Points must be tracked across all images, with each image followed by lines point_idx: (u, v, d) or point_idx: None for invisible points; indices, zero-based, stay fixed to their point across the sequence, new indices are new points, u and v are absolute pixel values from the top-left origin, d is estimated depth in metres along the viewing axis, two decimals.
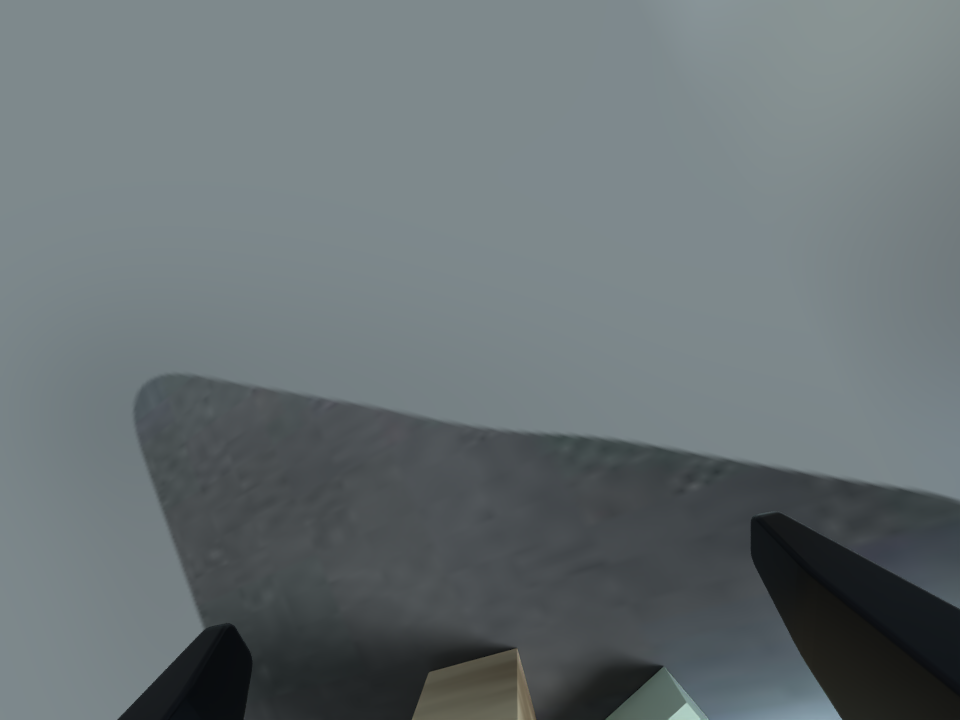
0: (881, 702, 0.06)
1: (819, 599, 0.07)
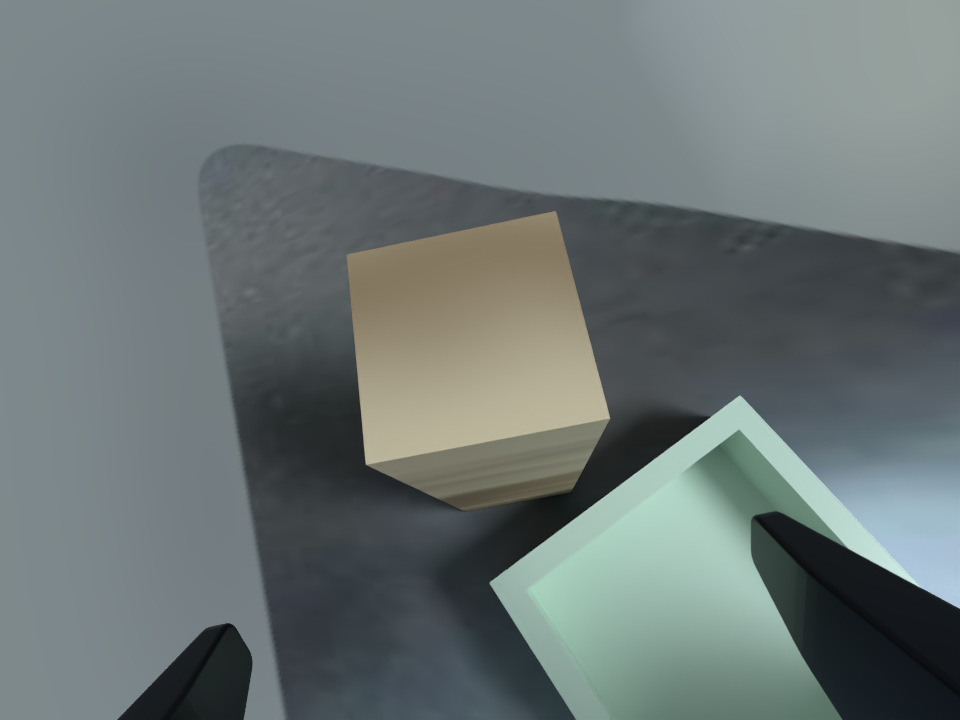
0: (881, 702, 0.06)
1: (819, 599, 0.07)
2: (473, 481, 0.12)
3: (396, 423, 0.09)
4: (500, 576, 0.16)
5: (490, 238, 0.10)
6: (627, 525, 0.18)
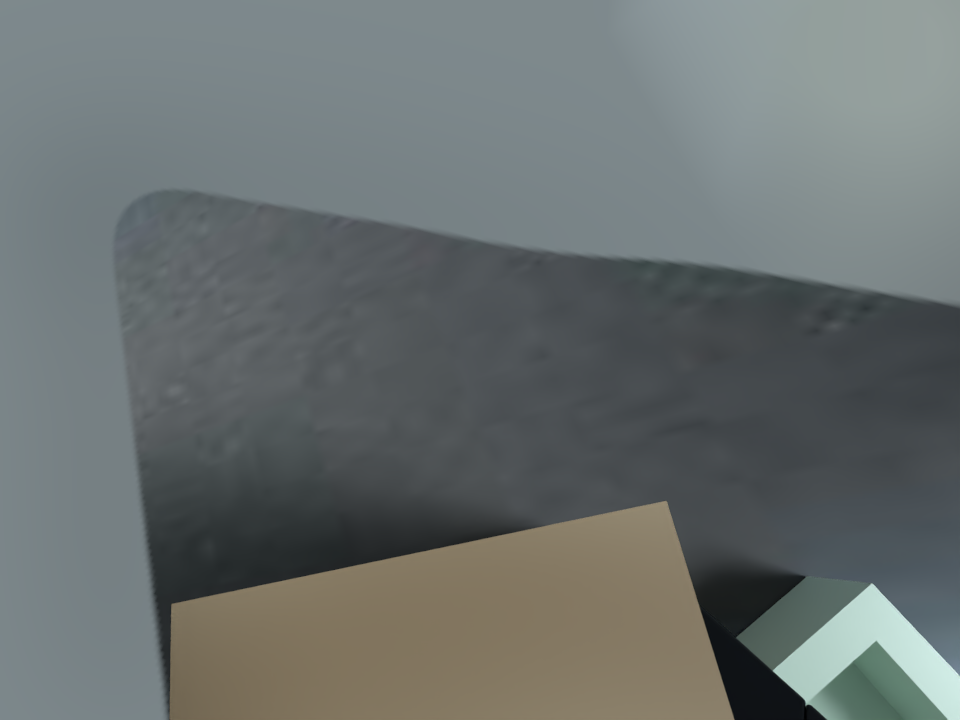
0: None
1: None
2: None
3: None
4: None
5: (512, 573, 0.04)
6: None
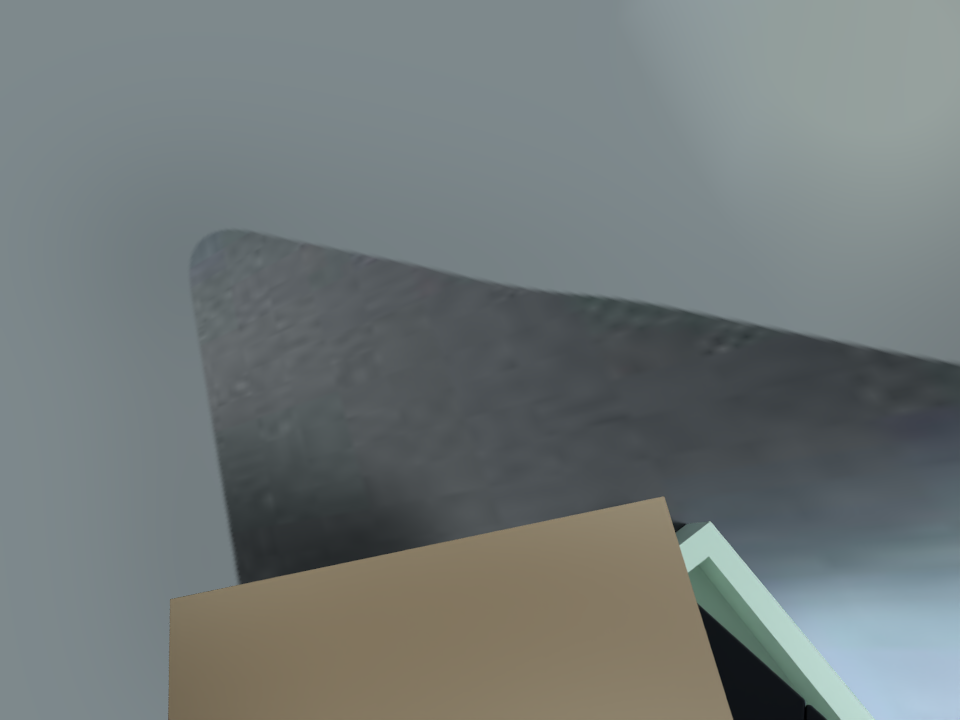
0: None
1: None
2: None
3: None
4: None
5: (510, 568, 0.04)
6: None
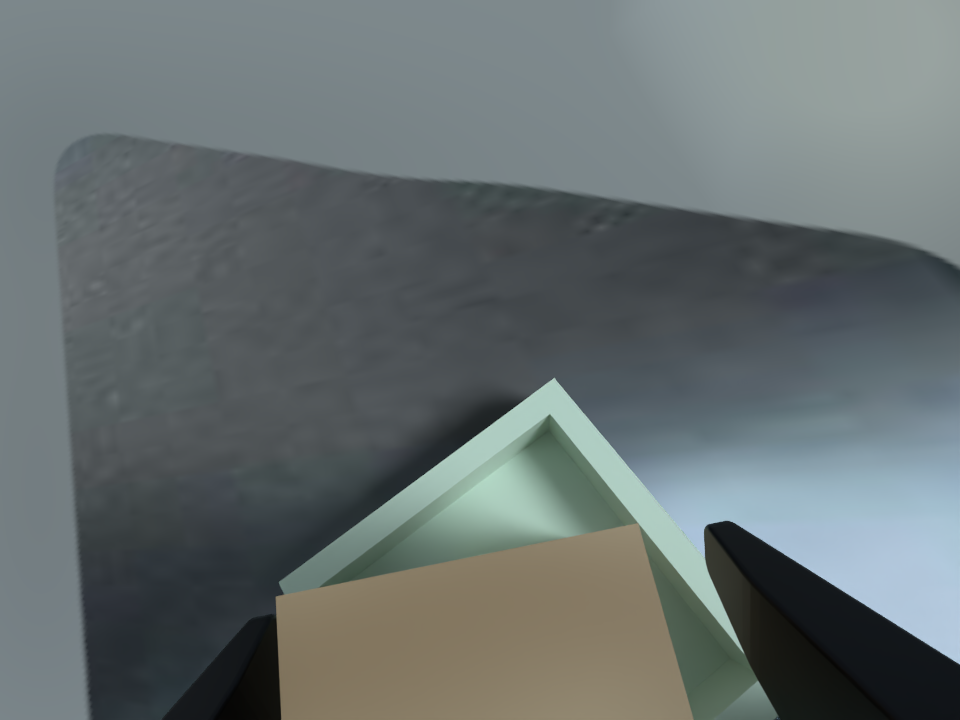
0: (817, 714, 0.06)
1: (761, 611, 0.07)
2: None
3: None
4: (290, 575, 0.15)
5: (525, 575, 0.06)
6: (452, 519, 0.17)
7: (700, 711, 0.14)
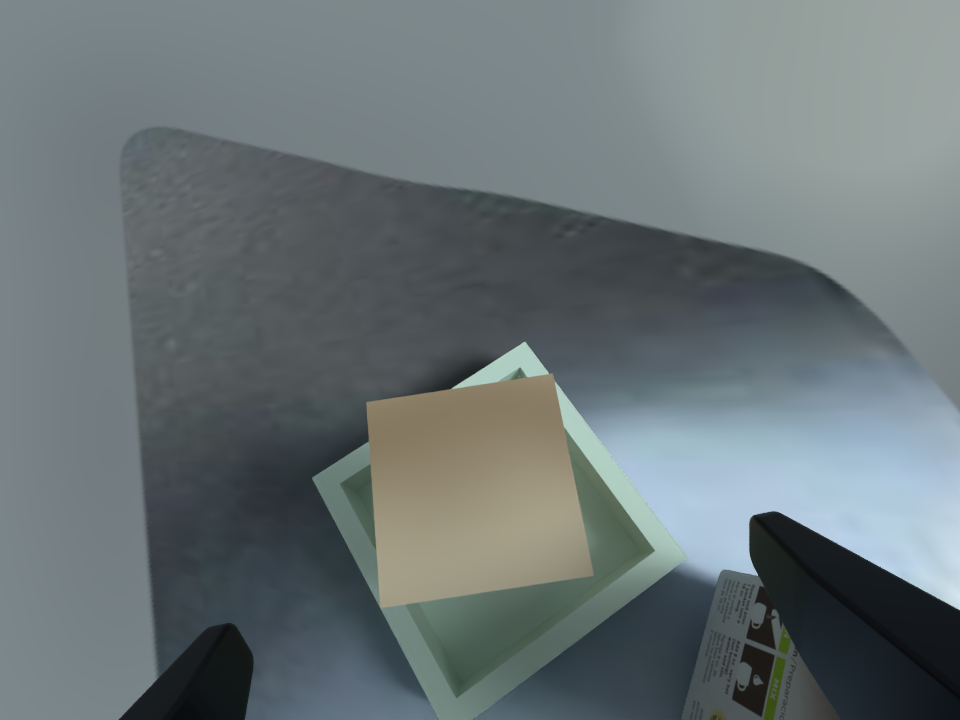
0: (879, 702, 0.06)
1: (817, 599, 0.07)
2: None
3: (407, 570, 0.10)
4: (321, 473, 0.20)
5: (495, 395, 0.11)
6: None
7: (612, 578, 0.19)
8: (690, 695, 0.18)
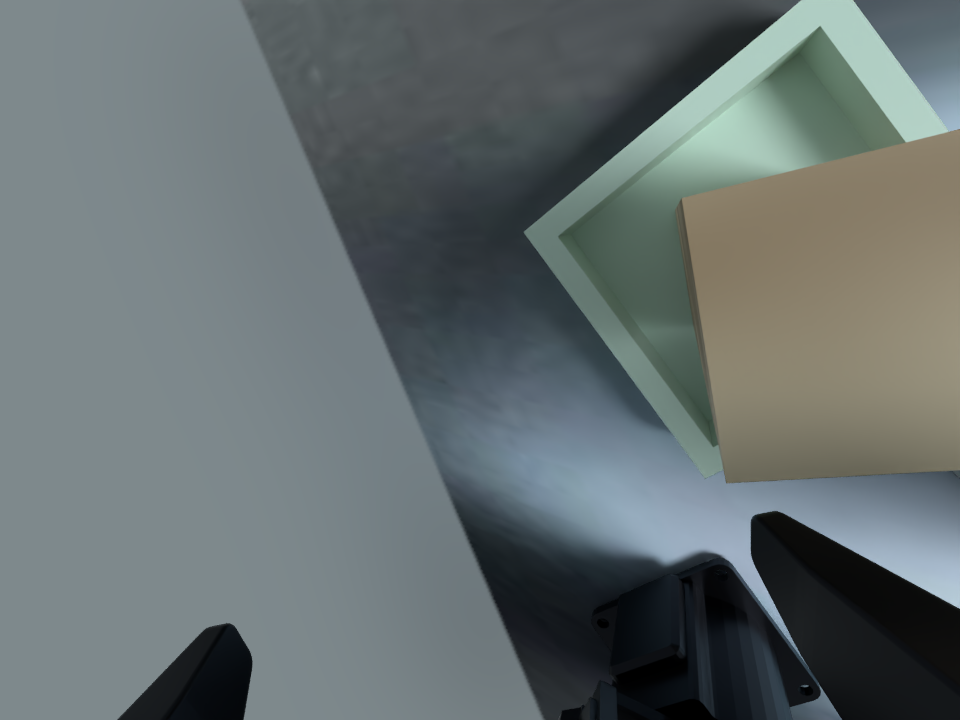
0: (881, 702, 0.06)
1: (819, 599, 0.07)
2: None
3: (765, 442, 0.07)
4: (533, 225, 0.17)
5: (946, 159, 0.06)
6: (676, 166, 0.17)
7: None
8: None
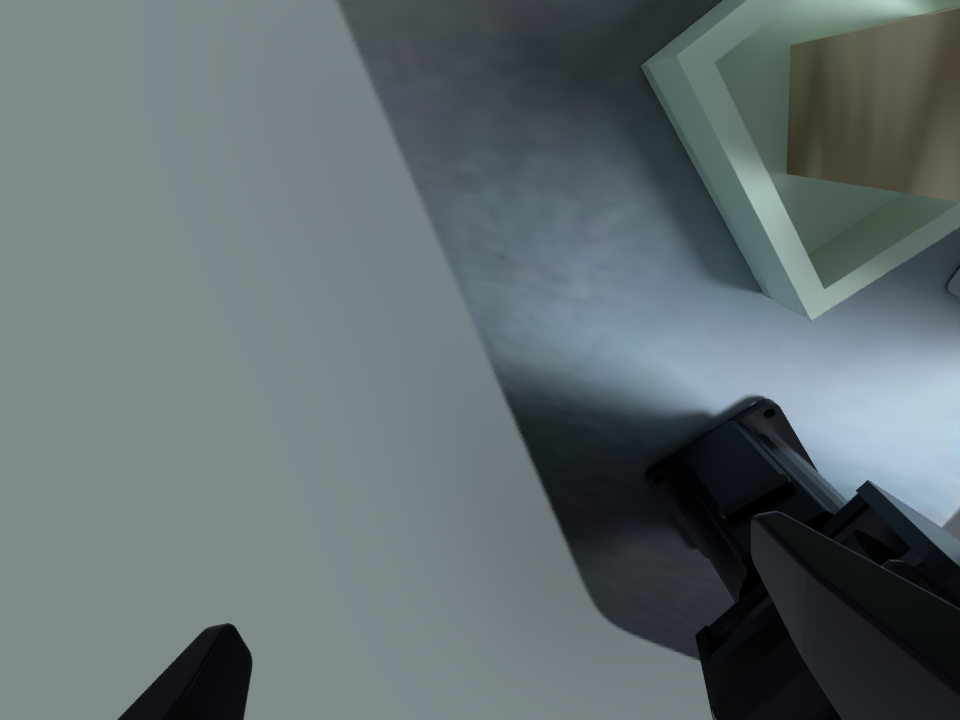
0: (881, 702, 0.06)
1: (819, 599, 0.07)
2: None
3: None
4: (689, 48, 0.15)
5: None
6: None
7: None
8: None
